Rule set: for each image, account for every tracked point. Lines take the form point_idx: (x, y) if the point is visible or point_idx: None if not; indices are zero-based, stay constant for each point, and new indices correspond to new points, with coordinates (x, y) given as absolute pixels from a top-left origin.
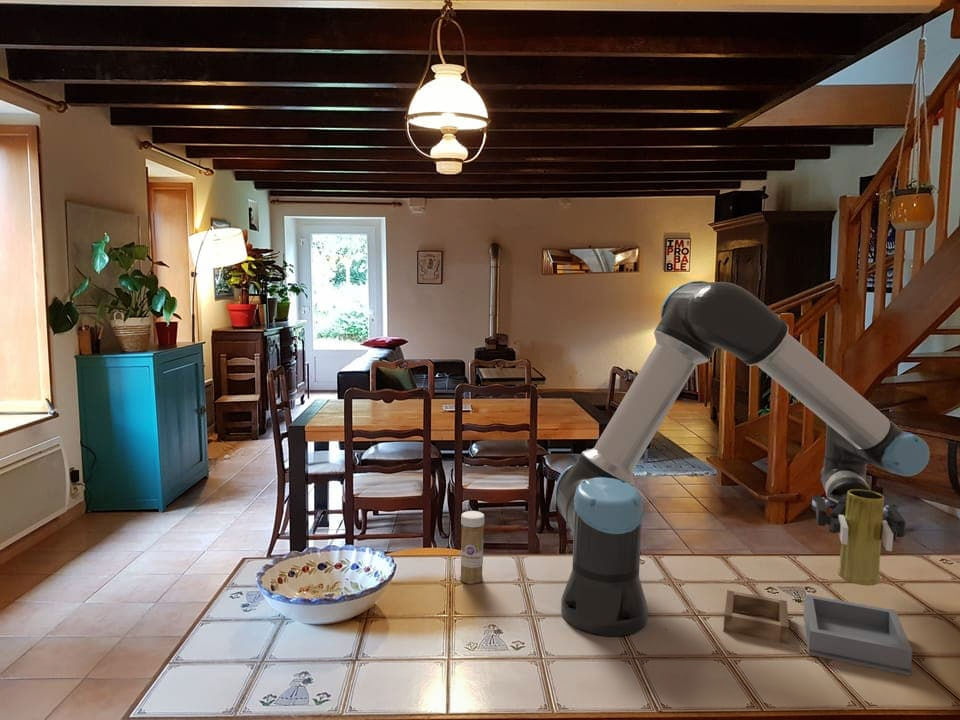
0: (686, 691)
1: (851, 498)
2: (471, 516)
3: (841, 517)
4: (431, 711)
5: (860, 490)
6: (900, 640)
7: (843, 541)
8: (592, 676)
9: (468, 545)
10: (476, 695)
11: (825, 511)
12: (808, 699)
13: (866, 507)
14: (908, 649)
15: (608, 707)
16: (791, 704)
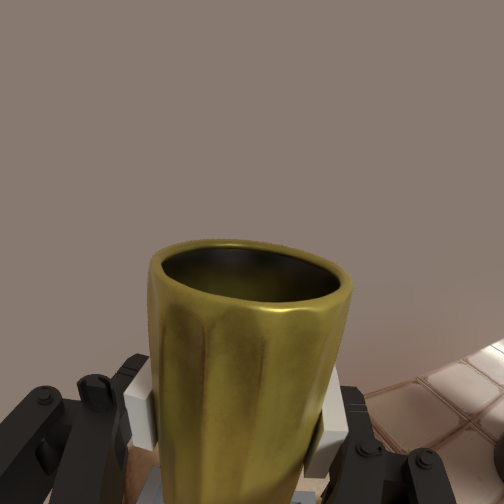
0: (412, 401)
1: (325, 282)
2: None
3: (335, 400)
4: (494, 343)
5: (264, 308)
6: (155, 493)
7: None
8: (472, 389)
9: None
10: (494, 355)
11: (410, 458)
12: None
13: (258, 284)
14: (157, 469)
15: (442, 370)
16: None
